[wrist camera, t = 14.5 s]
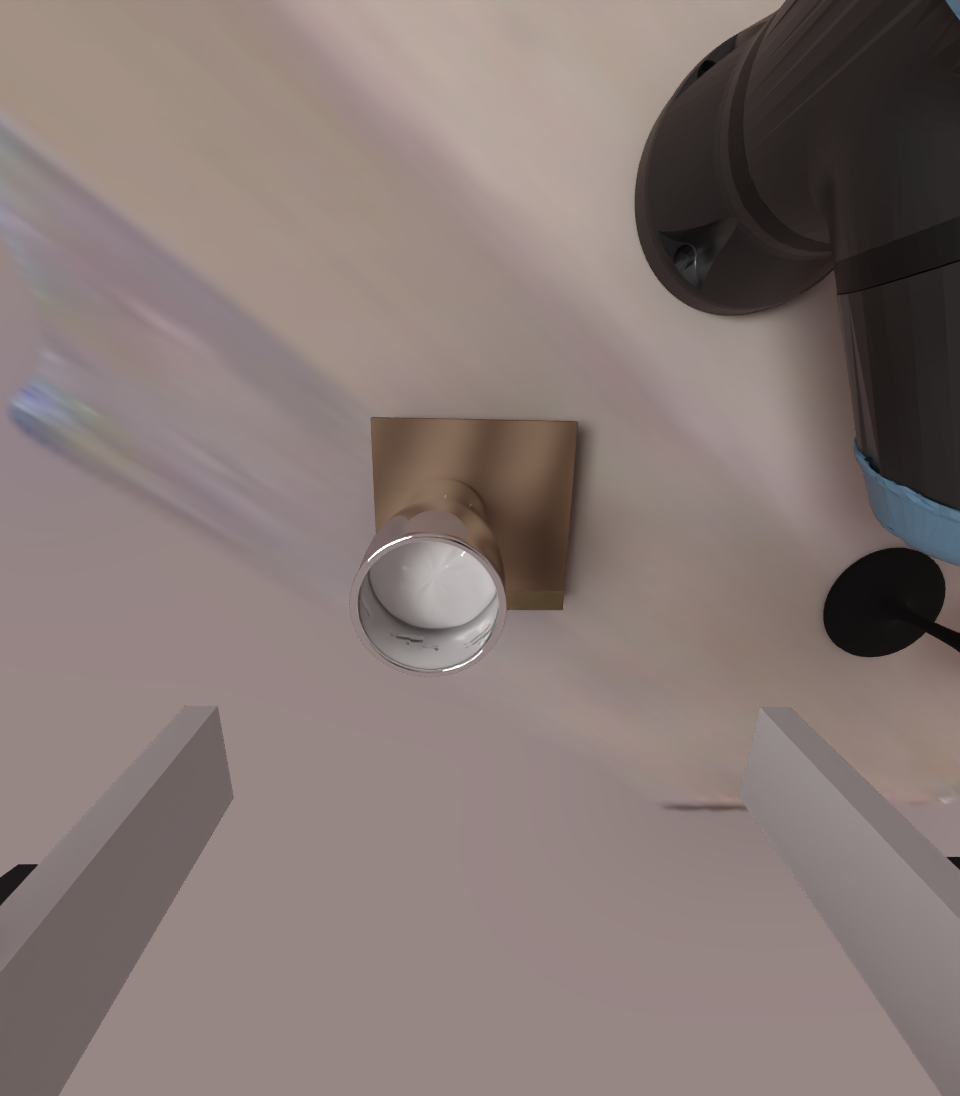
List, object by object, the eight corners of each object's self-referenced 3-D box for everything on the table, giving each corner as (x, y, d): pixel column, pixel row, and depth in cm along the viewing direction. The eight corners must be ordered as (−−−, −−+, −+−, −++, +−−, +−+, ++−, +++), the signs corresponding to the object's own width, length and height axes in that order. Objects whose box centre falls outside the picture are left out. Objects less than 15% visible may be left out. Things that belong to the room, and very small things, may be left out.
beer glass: (492, 565, 35) (510, 680, 21) (398, 566, 35) (351, 684, 21) (493, 471, 33) (513, 527, 19) (392, 472, 33) (335, 529, 18)
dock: (566, 419, 36) (577, 421, 32) (553, 590, 40) (562, 610, 36) (380, 415, 35) (370, 417, 32) (388, 588, 40) (379, 608, 36)
